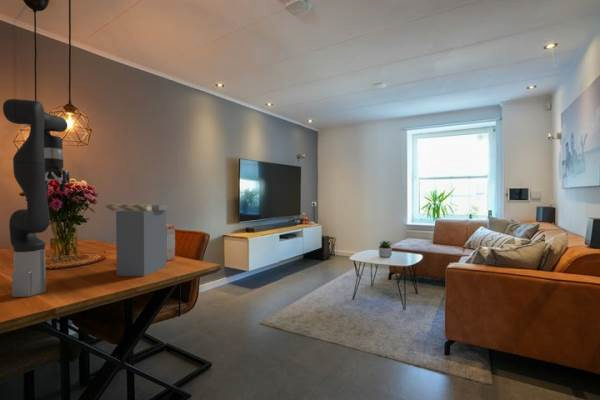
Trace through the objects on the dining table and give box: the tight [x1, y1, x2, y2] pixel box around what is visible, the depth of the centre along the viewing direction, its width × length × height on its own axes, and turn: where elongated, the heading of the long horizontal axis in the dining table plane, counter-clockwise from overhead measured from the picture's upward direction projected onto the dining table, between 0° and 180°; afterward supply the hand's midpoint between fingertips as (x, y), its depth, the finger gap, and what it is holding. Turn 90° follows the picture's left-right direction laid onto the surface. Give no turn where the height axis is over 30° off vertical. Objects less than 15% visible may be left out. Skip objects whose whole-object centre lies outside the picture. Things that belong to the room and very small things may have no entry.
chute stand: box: [115, 204, 169, 277], centre depth 153 cm, size 16×20×33 cm
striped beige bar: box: [103, 203, 153, 212], centre depth 148 cm, size 22×4×3 cm, turn 85°
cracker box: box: [166, 223, 176, 262], centre depth 181 cm, size 14×6×21 cm, turn 58°
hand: (53, 191), depth 144 cm, fingers open, 8 cm apart
